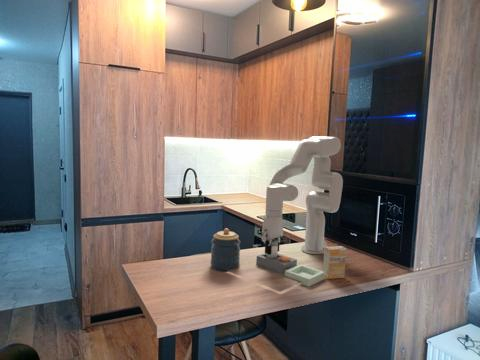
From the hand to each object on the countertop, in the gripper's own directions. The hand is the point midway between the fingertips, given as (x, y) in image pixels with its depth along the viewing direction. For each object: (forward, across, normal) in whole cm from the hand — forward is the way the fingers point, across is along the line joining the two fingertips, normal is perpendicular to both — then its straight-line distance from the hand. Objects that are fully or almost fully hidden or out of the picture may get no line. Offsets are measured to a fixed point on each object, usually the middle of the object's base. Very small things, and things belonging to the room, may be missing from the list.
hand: (272, 251), depth 163 cm
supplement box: (+7, -11, +26) cm, 29 cm away
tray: (+7, 0, +18) cm, 19 cm away
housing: (+7, 0, +3) cm, 7 cm away
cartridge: (+4, 0, 0) cm, 4 cm away
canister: (+7, +16, -14) cm, 22 cm away
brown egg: (+6, 0, +8) cm, 9 cm away
